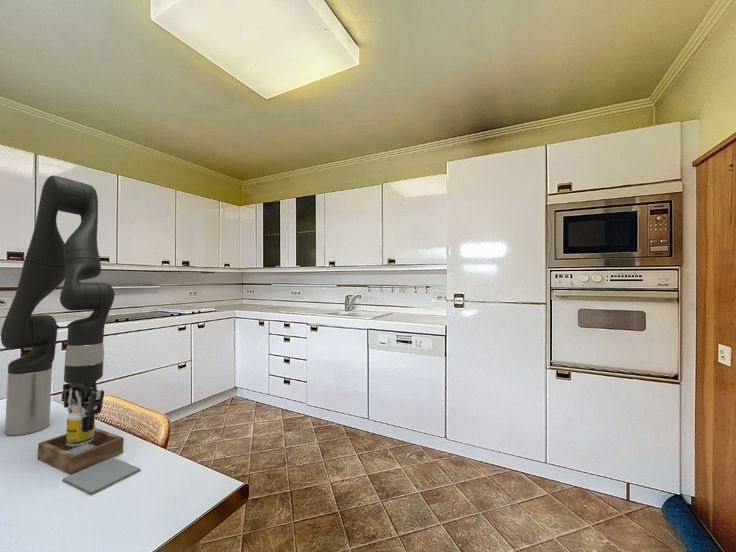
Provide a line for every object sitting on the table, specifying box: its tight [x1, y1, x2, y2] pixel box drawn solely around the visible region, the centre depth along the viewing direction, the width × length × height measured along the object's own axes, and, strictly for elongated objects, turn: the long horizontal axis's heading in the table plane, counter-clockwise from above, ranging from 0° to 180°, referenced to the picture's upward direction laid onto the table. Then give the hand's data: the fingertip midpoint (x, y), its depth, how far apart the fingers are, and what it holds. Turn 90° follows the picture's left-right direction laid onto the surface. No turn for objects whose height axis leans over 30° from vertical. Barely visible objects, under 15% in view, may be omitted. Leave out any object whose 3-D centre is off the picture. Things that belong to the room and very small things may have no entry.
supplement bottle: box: [66, 402, 96, 447], centre depth 84 cm, size 5×5×10 cm
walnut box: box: [36, 427, 125, 476], centre depth 84 cm, size 15×11×4 cm
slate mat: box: [62, 457, 141, 496], centre depth 76 cm, size 11×10×1 cm
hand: (81, 427), depth 84 cm, fingers closed on supplement bottle, 5 cm apart
